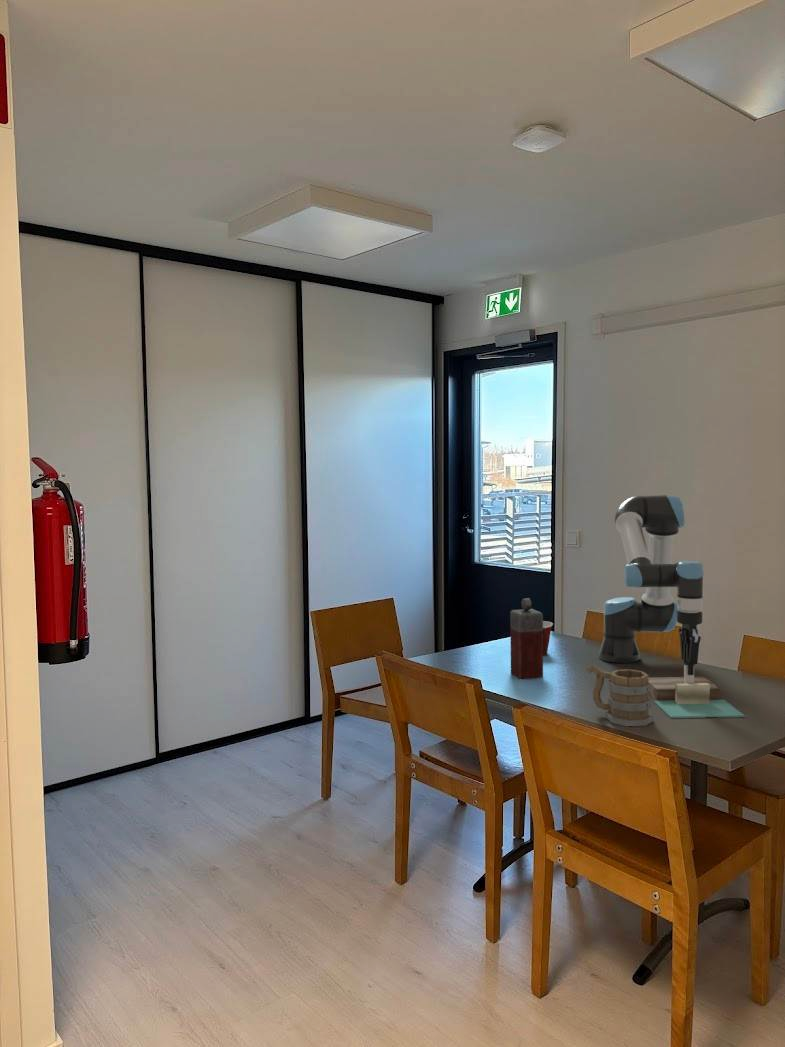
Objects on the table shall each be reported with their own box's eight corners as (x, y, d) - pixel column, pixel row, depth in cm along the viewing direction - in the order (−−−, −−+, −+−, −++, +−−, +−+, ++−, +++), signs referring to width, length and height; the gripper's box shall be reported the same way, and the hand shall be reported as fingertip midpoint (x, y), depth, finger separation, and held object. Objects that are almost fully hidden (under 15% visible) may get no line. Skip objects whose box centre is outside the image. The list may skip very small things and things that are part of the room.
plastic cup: (520, 651, 331) (520, 621, 330) (544, 648, 335) (544, 619, 334) (533, 657, 321) (533, 627, 320) (558, 654, 324) (557, 624, 323)
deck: (643, 689, 275) (643, 677, 274) (703, 688, 274) (703, 676, 274) (656, 701, 261) (656, 689, 260) (719, 700, 260) (719, 688, 260)
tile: (675, 683, 258) (677, 685, 256) (707, 682, 257) (709, 684, 255) (675, 701, 258) (677, 704, 256) (706, 701, 258) (709, 703, 256)
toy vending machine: (549, 677, 292) (549, 599, 290) (519, 679, 289) (519, 601, 287) (539, 670, 301) (538, 595, 298) (510, 673, 298) (509, 597, 296)
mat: (654, 702, 260) (654, 700, 260) (723, 701, 260) (723, 699, 260) (670, 718, 244) (670, 716, 244) (744, 717, 244) (744, 715, 244)
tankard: (658, 718, 244) (658, 669, 243) (639, 729, 235) (640, 678, 234) (597, 706, 257) (597, 659, 256) (577, 716, 248) (577, 667, 247)
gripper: (670, 607, 264) (670, 678, 266) (684, 614, 251) (684, 690, 253) (694, 606, 264) (693, 678, 266) (709, 614, 251) (708, 689, 253)
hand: (688, 684), depth 260 cm, fingers closed
